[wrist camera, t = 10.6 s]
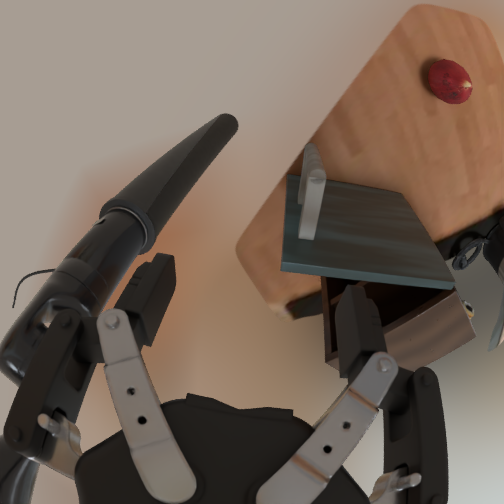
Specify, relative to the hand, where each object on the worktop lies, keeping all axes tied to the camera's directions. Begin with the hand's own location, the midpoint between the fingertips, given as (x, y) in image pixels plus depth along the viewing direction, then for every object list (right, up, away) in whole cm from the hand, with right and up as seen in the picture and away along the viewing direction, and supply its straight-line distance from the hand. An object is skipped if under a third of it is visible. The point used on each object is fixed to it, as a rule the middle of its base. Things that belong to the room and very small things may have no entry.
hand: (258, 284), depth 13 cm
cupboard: (+21, +1, +30) cm, 36 cm away
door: (+13, +13, +22) cm, 28 cm away
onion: (+24, +24, +12) cm, 36 cm away
